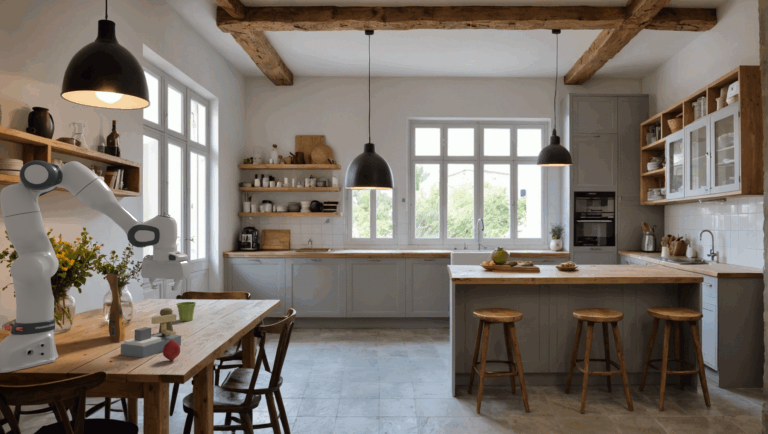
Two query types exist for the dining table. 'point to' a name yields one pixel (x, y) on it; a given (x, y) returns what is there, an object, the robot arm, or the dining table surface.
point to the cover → (142, 337)
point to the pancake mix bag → (115, 312)
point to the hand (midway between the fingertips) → (164, 289)
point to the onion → (171, 350)
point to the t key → (164, 323)
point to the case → (149, 346)
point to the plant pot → (186, 310)
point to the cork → (168, 324)
